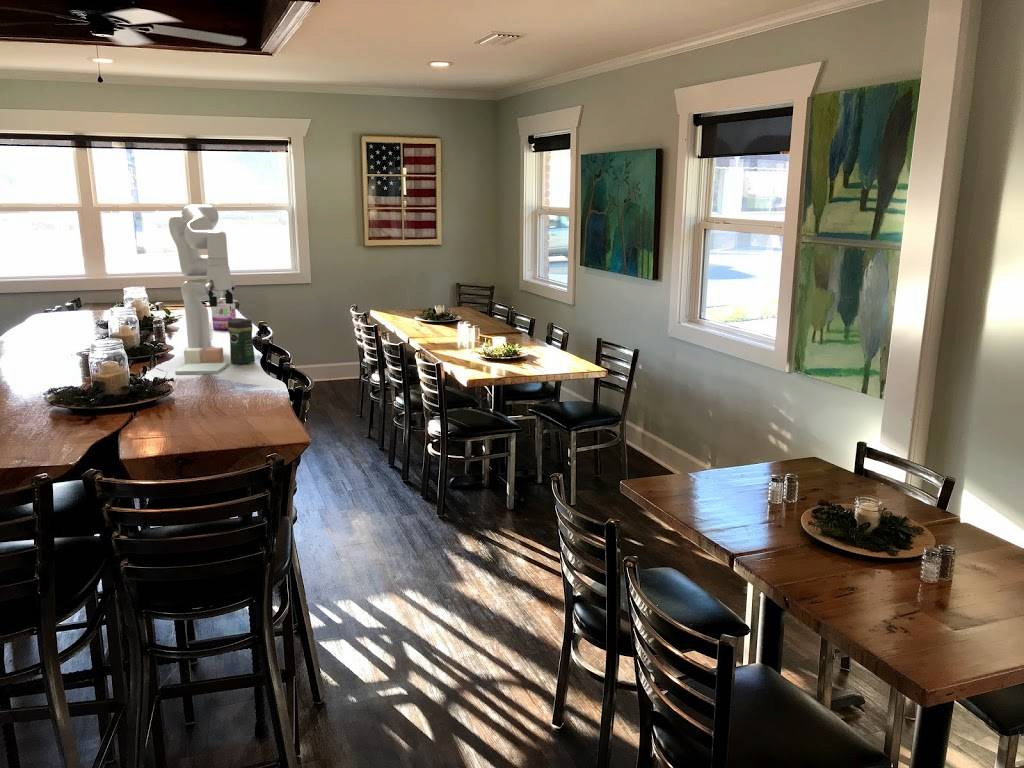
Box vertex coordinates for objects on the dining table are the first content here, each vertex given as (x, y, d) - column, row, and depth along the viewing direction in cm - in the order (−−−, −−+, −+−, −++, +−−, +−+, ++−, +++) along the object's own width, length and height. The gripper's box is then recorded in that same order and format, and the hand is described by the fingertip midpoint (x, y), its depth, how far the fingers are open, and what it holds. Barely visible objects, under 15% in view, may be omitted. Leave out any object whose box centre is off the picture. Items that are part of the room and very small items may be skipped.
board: (187, 366, 328) (187, 363, 327) (228, 365, 329) (228, 362, 329) (175, 374, 312) (175, 371, 312) (218, 373, 313) (217, 370, 313)
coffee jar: (258, 362, 336) (255, 318, 332) (243, 365, 329) (240, 320, 325) (242, 359, 341) (239, 316, 337) (227, 363, 334) (223, 318, 330)
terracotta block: (209, 361, 337) (207, 347, 335) (223, 361, 337) (222, 347, 336) (205, 364, 331) (203, 350, 330) (220, 364, 332) (219, 350, 330)
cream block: (189, 362, 336) (188, 348, 335) (204, 361, 337) (203, 347, 335) (185, 365, 330) (183, 350, 329) (200, 364, 331) (198, 350, 329)
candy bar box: (237, 329, 422) (235, 297, 419) (232, 330, 418) (230, 299, 414) (217, 328, 424) (215, 297, 420) (212, 329, 419) (210, 298, 416)
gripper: (224, 260, 332) (227, 302, 336) (195, 263, 316) (199, 307, 320) (239, 261, 330) (242, 303, 333) (211, 264, 314) (215, 308, 317)
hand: (221, 305), depth 327 cm, fingers open, 9 cm apart
